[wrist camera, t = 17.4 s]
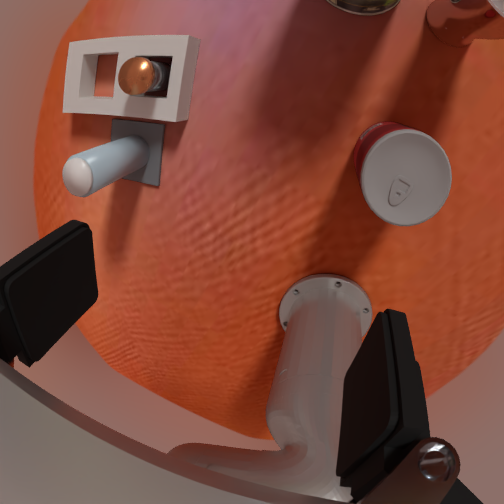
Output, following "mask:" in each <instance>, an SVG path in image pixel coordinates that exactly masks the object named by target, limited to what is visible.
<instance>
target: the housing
mask: <svg viewBox="0 0 504 504" xmlns="http://www.w3.org/2000/svg"><path fill="white" fill-rule="evenodd" d="M200 40H201V39H198V38H195V37H192V36H190V35H143V36H124V37H111V38H100V39H91V40H83V41H76V42H70V44H69V51H68V58H67V67H66V76H65V87H64V101H63V112H65V113H87V114H103V115H116V116H127V117H137V118H147V119H155V120H163V121H171V122H179V121H184V120H188V116H189V109H190V101H191V95H192V88H193V81H194V75H195V69H196V63H197V57H198V51H199V45H200ZM109 54H118V61H117V68H116V76H115V85H114V95H113V97H95V96H94V89H95V79H96V70H97V62H98V55H109ZM133 57H142V58H146V59H148V60H149V57H163V58H172V65H171V71H170V78H169V85H168V92H167V97H162V96H150V95H144V93H143V94H139V95H129V94H126V93H125V92H123V91H122V89H121V88H120V86H119V83H118V74H119V71H120V68H121V66H122V65H123V64H124V63H125V62H126V61H127V60H128V59H130V58H133Z"/></svg>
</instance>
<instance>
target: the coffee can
mask: <svg viewBox="0 0 504 504" xmlns="http://www.w3.org/2000/svg"><path fill="white" fill-rule="evenodd" d="M326 1H328V2H329V3H330V4H332V5H333V6H334V7H336V8H339V9H341V10H343V11H345V12H349V13H352V14H357V15H377V14H381V13H384V12H386V11H389V10H390V9H392V8H393V7H394V6H396V5H397V4H398V3H399V1H400V0H326Z"/></svg>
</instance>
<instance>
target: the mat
mask: <svg viewBox="0 0 504 504" xmlns="http://www.w3.org/2000/svg"><path fill="white" fill-rule="evenodd" d="M164 130H165V125H164V124H156V123H148V122H140V121H130V120H120V119H112V129H111V142H112V141H115V140H118V139H121V138H125V137H128V136H131V135H137V136H140V137H141V138H143V139H144V140H145V141H146V143H147V145H148V147H149V152H150V155H149V160H148V162H147V164H146V165H145V166H144V167H142V168H140V169H138V170H136V171H134V172H132V173H130V174H128V175H126V176H124V177H123V179H128V180H132V181H137V182H142V183H146V184H151V185H156V186H159V185H160V174H161V161H162V150H163V140H164Z"/></svg>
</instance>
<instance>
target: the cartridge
mask: <svg viewBox="0 0 504 504" xmlns="http://www.w3.org/2000/svg"><path fill="white" fill-rule="evenodd" d="M149 155H150V152H149V147H148V145H147V143H146V141H145V140H144V139H143V138H141V137H140V136H137V135H131V136H128V137H125V138H121V139H118V140H115V141H112V142H109V143H106V144H103V145H100V146H97V147H95V148H92V149H89V150H86V151H83V152H81V153H78V154H75V155H73V156H71V157H70V158H69V159H68V160H67V162H66V163H65V165H64V168H63V181H64V184H65V186H66V188H67V189H68V191H69V192H70V193H71V194H73V195H75V196H79V197H87V196H89V195H91V194H92V193H94V192H96V191H98V190H100V189H102V188H103V187H105V186H107V185H109V184H111V183H113V182H115V181H117V180H119V179H121V178H123V177H124V176H126V175H128V174H130V173H132V172H134V171H136V170H138V169H140V168H142V167H144V166H145V165H146V164H147V162H148V160H149Z"/></svg>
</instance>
